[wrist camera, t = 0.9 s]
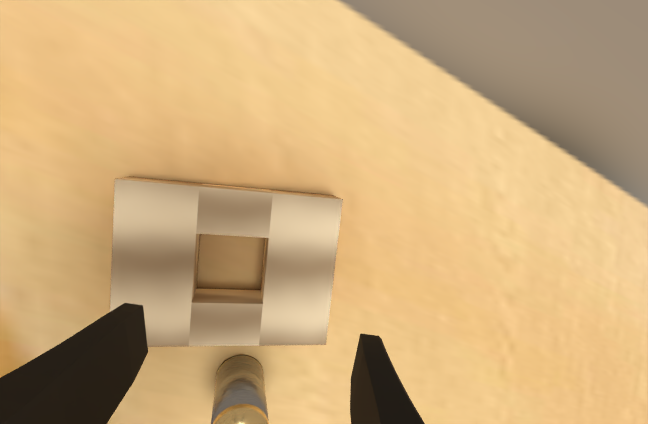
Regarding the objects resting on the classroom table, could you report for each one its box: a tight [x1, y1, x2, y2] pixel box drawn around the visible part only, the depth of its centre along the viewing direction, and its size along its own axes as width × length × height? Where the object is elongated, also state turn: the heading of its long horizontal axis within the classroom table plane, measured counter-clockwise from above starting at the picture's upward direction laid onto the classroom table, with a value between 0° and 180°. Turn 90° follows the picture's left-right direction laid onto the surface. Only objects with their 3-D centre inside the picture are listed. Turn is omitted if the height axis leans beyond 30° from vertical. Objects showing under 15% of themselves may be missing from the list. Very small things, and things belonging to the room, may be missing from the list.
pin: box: [211, 355, 269, 424], centre depth 28 cm, size 4×4×7 cm
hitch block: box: [110, 177, 343, 347], centre depth 28 cm, size 12×16×3 cm
